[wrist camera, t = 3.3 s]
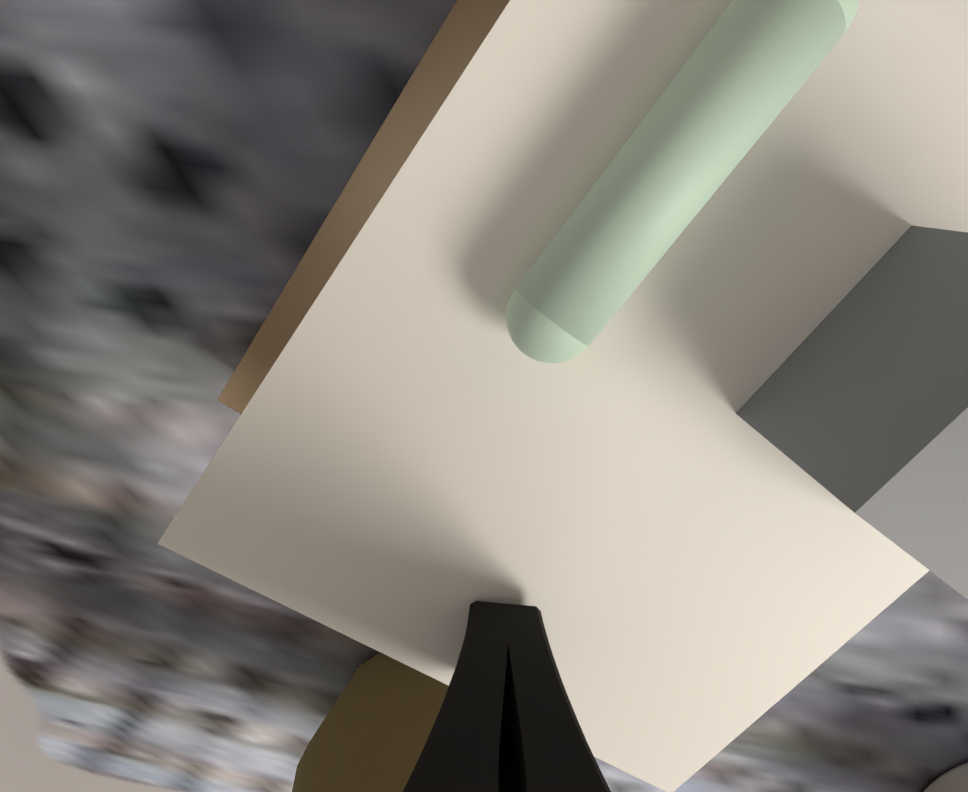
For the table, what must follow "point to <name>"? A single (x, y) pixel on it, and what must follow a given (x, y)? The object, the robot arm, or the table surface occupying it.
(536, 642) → the robot arm
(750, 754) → the table surface
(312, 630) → the table surface
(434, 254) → the level plate
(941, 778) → the mug
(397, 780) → the squeeze bottle
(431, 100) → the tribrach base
